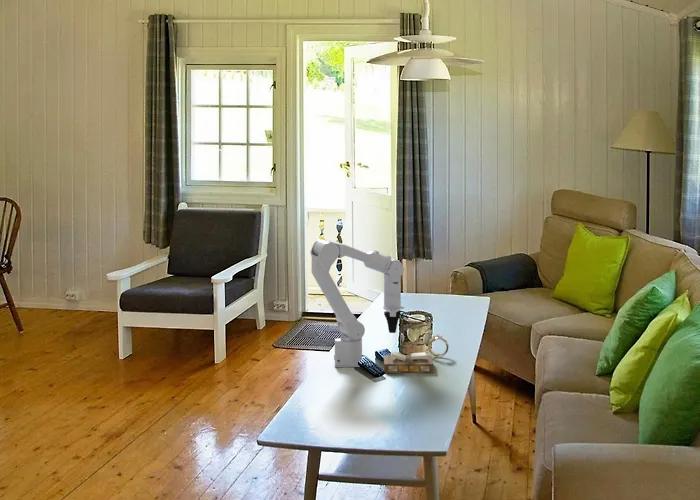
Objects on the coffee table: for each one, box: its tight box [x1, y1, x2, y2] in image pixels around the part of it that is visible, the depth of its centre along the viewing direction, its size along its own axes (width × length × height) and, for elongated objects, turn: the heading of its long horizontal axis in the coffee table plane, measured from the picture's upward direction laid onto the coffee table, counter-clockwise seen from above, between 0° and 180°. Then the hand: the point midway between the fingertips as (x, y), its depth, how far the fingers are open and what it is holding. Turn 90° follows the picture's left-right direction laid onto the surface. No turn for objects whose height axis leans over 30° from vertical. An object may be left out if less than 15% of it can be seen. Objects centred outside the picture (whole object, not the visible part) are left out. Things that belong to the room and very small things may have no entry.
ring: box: [427, 334, 450, 358], centre depth 291 cm, size 7×3×8 cm, turn 74°
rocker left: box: [390, 350, 406, 361], centre depth 278 cm, size 5×4×1 cm
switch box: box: [383, 354, 434, 374], centre depth 279 cm, size 16×10×4 cm, turn 89°
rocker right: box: [410, 351, 427, 359], centre depth 278 cm, size 5×4×1 cm
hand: (392, 332), depth 288 cm, fingers closed
